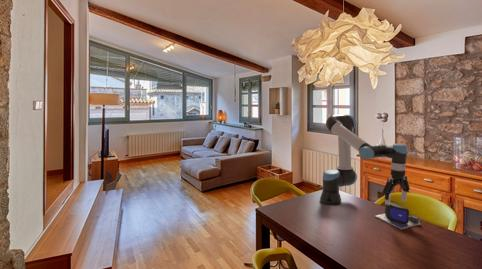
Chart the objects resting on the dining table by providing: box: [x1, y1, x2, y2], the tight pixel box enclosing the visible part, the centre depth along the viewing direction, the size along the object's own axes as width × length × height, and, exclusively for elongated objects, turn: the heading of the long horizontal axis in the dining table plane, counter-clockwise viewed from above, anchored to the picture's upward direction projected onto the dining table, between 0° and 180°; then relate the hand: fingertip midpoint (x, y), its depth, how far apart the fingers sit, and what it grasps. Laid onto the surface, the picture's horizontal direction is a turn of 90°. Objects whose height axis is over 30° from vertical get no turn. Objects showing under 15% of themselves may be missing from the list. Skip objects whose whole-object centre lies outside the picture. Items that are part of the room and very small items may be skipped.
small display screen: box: [384, 201, 410, 224], centre depth 162 cm, size 16×5×9 cm, turn 18°
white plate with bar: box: [375, 213, 421, 230], centre depth 162 cm, size 18×16×4 cm
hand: (395, 202), depth 161 cm, fingers open, 13 cm apart
